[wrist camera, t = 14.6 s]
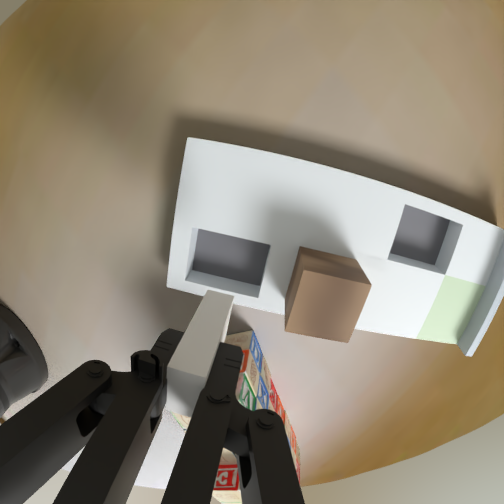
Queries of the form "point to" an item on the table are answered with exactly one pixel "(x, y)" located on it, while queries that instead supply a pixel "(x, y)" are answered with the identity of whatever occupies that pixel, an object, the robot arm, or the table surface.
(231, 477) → the stack of blocks
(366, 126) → the table surface
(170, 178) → the table surface
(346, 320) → the walnut block
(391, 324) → the box
